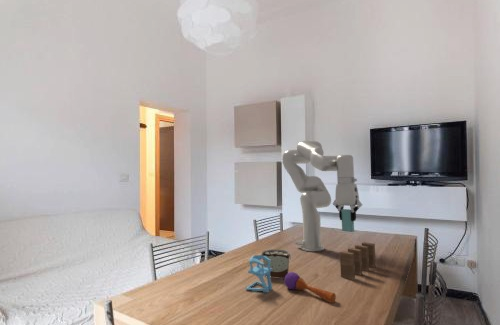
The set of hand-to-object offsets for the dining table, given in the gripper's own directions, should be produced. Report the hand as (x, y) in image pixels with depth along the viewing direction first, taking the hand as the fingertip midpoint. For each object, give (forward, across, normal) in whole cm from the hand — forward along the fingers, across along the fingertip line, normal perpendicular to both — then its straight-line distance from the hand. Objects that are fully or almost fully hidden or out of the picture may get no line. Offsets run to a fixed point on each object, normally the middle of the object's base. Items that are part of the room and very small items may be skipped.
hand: (347, 219), depth 137 cm
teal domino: (+5, 0, 0) cm, 5 cm away
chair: (+20, +8, +50) cm, 54 cm away
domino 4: (+20, -8, -2) cm, 22 cm away
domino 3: (+20, -8, +4) cm, 22 cm away
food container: (+20, +13, +35) cm, 42 cm away
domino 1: (+20, -9, +18) cm, 28 cm away
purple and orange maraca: (+21, -8, +41) cm, 47 cm away
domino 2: (+20, -9, +11) cm, 25 cm away
